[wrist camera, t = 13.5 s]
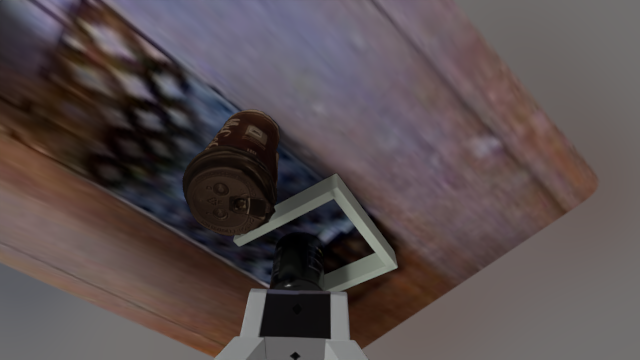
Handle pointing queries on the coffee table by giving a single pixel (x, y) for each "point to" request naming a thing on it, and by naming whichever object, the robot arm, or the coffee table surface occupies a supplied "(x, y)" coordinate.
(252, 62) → the coffee table surface
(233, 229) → the coffee cup
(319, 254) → the supplement bottle
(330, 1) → the coffee table surface
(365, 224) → the pale u-shaped frame
